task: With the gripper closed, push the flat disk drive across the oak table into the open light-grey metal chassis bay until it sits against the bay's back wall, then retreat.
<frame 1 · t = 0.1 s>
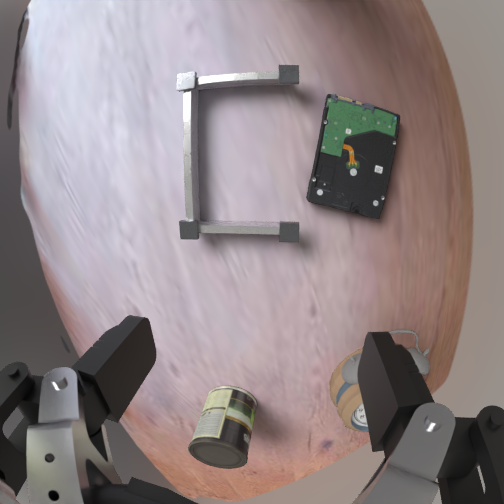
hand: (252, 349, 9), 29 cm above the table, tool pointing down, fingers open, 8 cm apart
chassis: (233, 152, 35), on the table
coffee can: (231, 401, 50), on the table
alarm clock: (376, 365, 43), on the table
disk drive: (351, 156, 34), on the table
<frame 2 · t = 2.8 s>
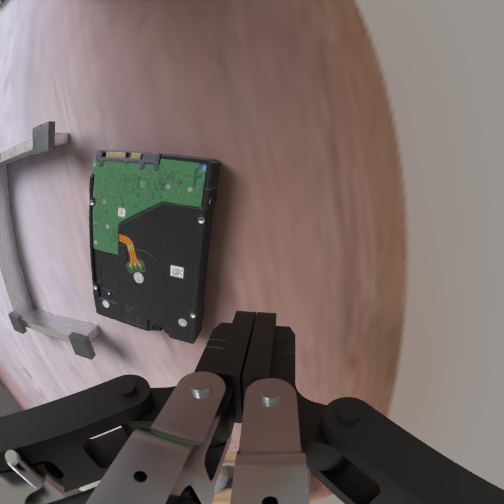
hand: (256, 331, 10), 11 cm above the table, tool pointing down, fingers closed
chassis: (35, 240, 23), on the table
alarm clock: (256, 465, 32), on the table
disk drive: (154, 240, 22), on the table
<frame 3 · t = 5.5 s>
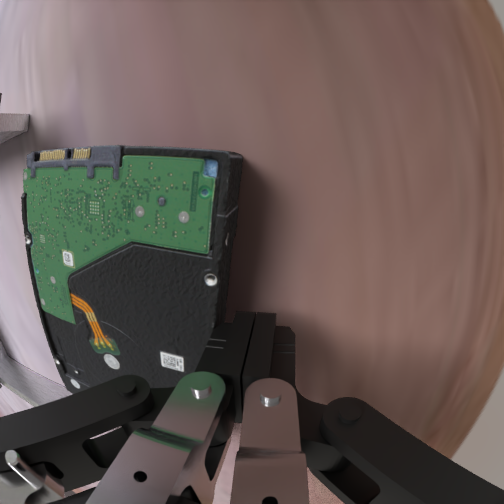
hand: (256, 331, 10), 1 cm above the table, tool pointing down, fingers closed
disk drive: (132, 296, 13), on the table, touching gripper
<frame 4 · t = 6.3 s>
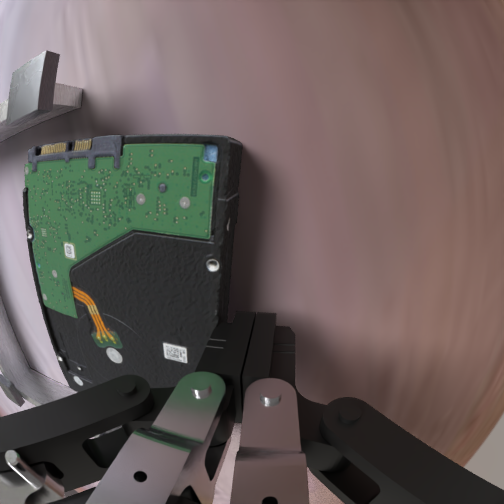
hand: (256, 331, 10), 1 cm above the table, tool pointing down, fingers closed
chassis: (22, 280, 13), on the table
disk drive: (135, 289, 13), on the table, touching gripper
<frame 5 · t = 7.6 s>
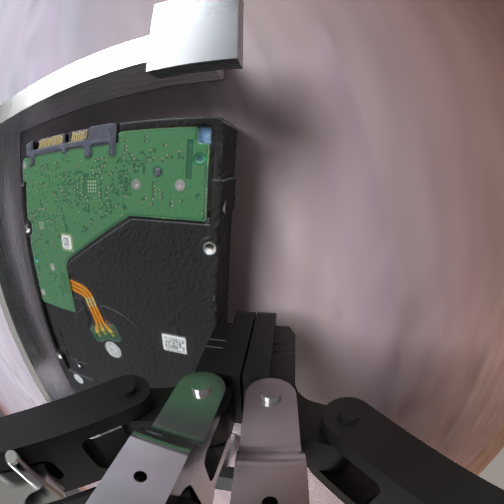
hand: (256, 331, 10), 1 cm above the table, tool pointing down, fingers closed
chassis: (91, 295, 13), on the table
disk drive: (134, 282, 13), on the table
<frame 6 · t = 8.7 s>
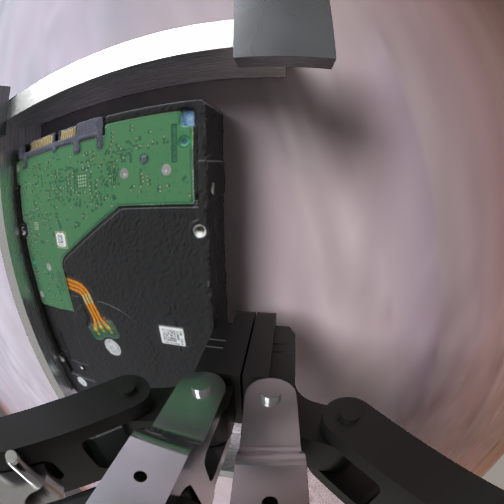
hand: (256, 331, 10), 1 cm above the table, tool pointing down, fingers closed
chassis: (125, 301, 12), on the table
disk drive: (131, 278, 13), on the table, touching chassis
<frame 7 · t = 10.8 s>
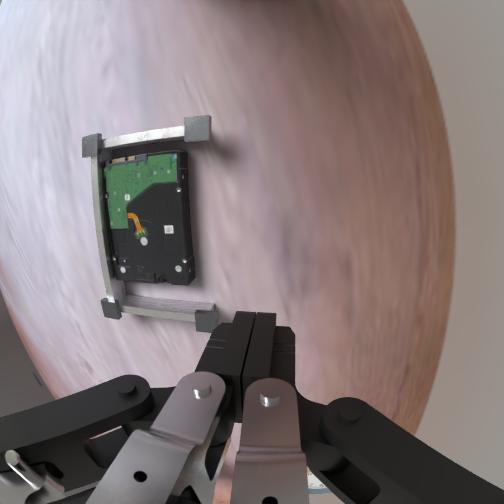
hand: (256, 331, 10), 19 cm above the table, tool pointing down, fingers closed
chassis: (149, 224, 31), on the table
alarm clock: (325, 432, 38), on the table
disk drive: (153, 216, 31), on the table
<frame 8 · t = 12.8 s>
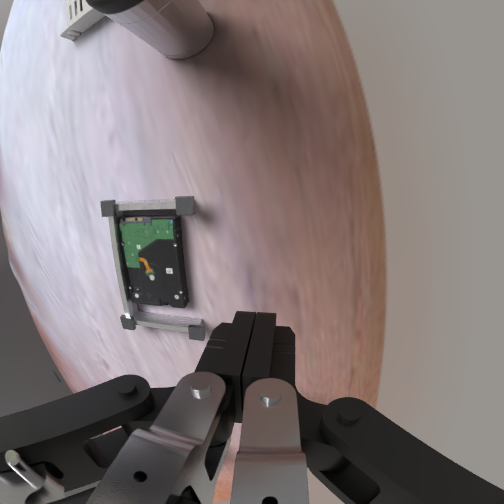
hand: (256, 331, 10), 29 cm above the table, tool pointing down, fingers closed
chassis: (154, 264, 43), on the table
disk drive: (157, 258, 43), on the table
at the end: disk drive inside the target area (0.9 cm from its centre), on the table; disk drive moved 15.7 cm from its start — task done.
